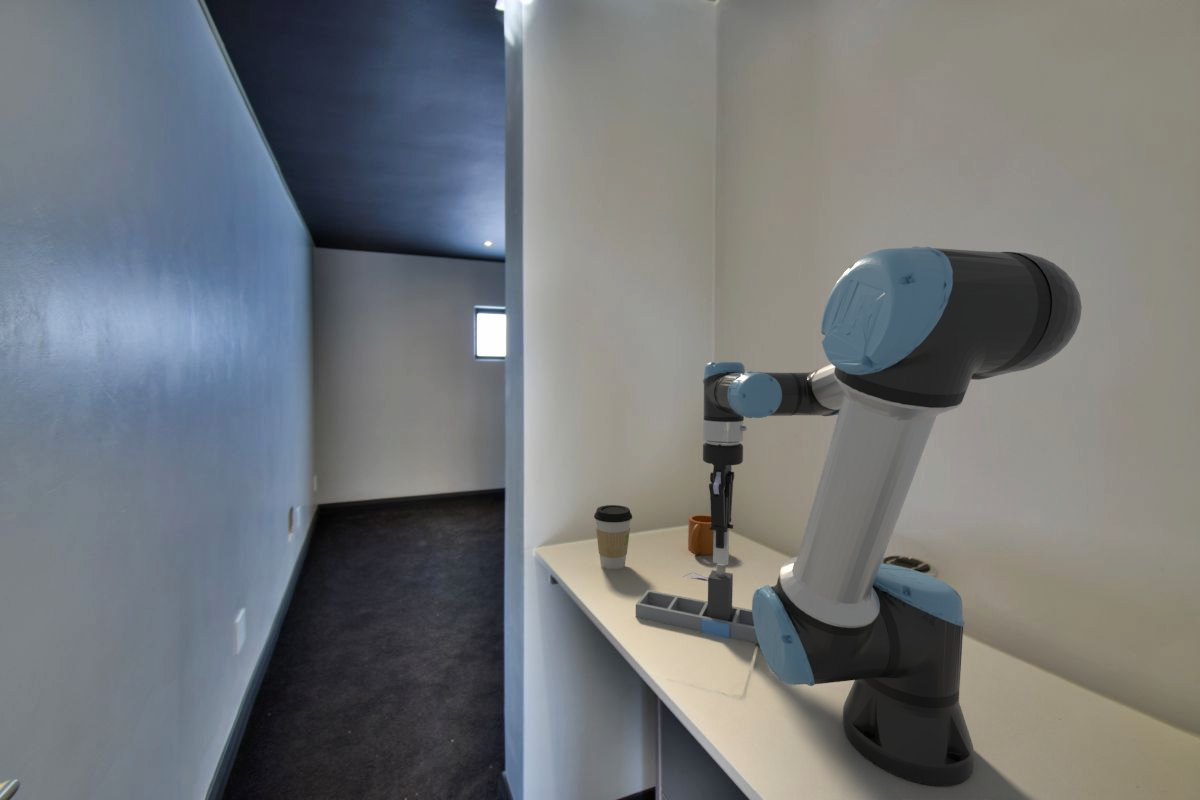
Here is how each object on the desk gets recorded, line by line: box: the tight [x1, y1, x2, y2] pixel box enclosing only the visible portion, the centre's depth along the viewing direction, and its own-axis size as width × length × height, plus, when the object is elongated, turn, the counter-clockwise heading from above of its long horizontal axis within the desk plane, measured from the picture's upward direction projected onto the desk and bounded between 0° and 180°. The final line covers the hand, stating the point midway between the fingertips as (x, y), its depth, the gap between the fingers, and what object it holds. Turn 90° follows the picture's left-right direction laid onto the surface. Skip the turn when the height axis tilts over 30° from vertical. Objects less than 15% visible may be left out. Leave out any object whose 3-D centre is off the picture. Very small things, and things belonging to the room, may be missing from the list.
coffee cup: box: [593, 504, 633, 570], centre depth 129 cm, size 10×10×15 cm
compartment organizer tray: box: [635, 589, 760, 648], centre depth 99 cm, size 8×26×3 cm, turn 66°
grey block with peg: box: [707, 563, 734, 622], centre depth 98 cm, size 4×4×12 cm
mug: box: [687, 514, 714, 556], centre depth 141 cm, size 9×12×9 cm
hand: (720, 562), depth 98 cm, fingers closed
